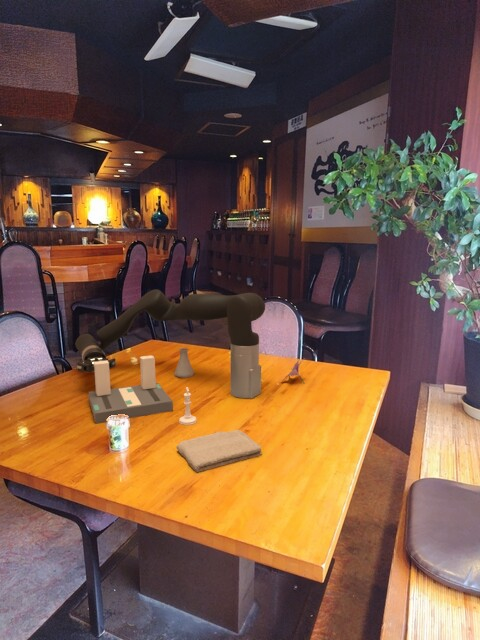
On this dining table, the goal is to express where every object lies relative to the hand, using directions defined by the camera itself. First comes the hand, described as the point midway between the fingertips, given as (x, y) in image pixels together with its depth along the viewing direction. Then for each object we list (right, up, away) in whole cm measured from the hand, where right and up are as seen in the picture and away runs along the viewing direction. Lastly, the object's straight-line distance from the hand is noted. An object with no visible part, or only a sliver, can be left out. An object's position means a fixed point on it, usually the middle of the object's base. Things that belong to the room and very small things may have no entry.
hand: (99, 371), depth 136 cm
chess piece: (+30, -12, -15) cm, 35 cm away
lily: (+64, -6, +18) cm, 67 cm away
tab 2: (+15, -5, +3) cm, 16 cm away
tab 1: (+2, -6, -3) cm, 7 cm away
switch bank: (+10, -10, -4) cm, 15 cm away
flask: (+23, -4, +25) cm, 35 cm away
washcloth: (+39, -16, -32) cm, 54 cm away
